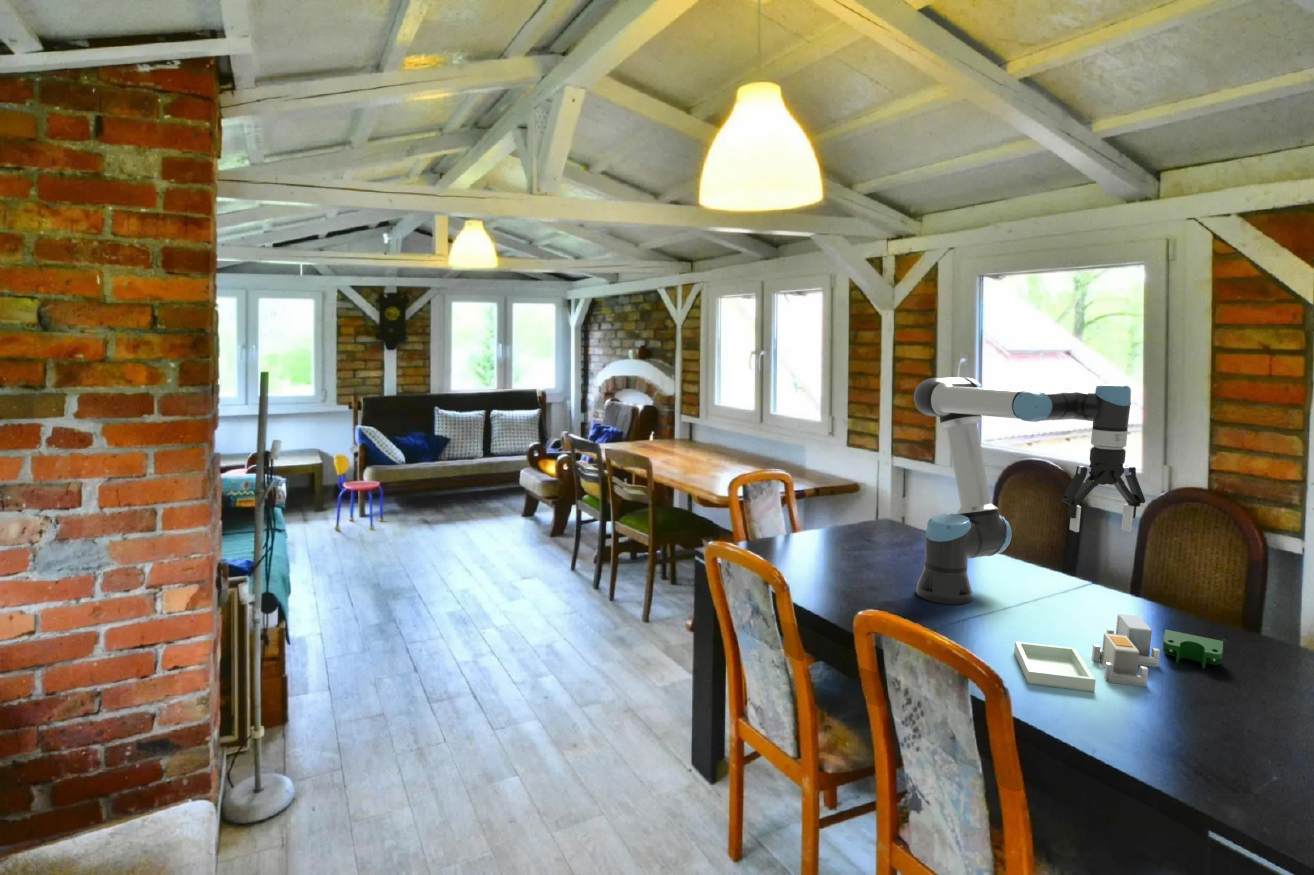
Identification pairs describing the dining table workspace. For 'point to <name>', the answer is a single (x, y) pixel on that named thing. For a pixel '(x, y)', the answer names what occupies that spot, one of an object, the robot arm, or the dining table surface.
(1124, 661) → the block
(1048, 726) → the dining table surface
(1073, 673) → the tray
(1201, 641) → the clamp
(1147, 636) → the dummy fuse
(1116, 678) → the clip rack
